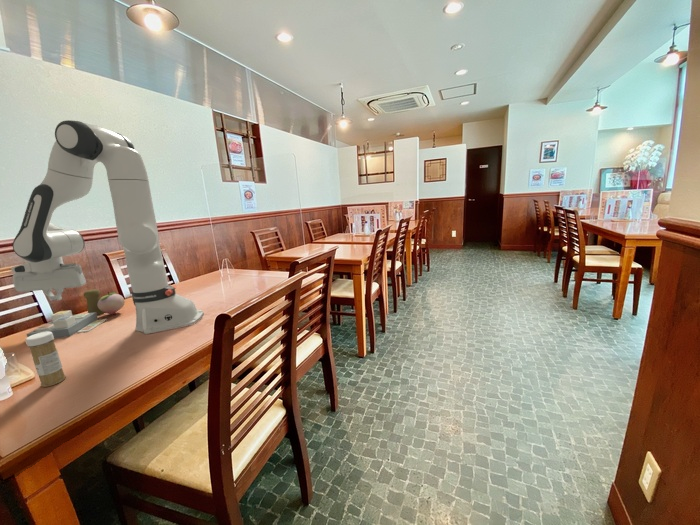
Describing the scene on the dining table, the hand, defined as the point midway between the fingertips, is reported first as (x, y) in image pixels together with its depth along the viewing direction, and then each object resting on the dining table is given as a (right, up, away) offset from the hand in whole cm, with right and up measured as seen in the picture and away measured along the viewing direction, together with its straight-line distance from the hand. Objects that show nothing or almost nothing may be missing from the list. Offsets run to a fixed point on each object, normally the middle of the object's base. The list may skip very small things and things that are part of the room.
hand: (56, 299), depth 106 cm
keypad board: (+5, -11, -1) cm, 12 cm away
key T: (+3, -12, -5) cm, 14 cm away
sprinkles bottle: (+36, -17, -34) cm, 52 cm away
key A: (+1, -9, +2) cm, 9 cm away
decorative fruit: (+12, -8, +13) cm, 19 cm away
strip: (+13, -10, +1) cm, 17 cm away
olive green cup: (+3, -8, +14) cm, 17 cm away
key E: (+7, -10, +4) cm, 13 cm away
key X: (+8, -10, -4) cm, 14 cm away
